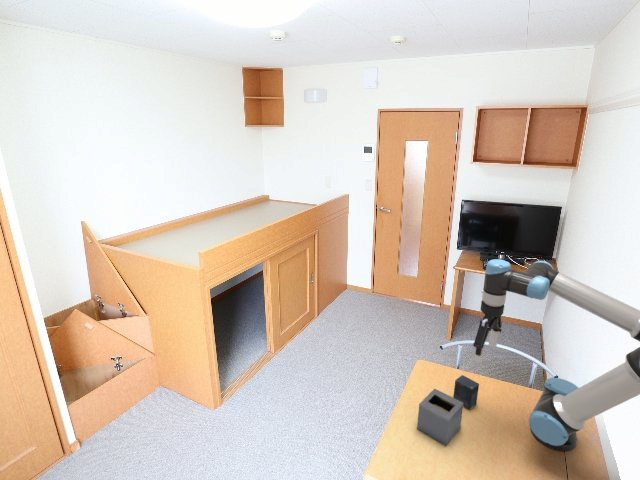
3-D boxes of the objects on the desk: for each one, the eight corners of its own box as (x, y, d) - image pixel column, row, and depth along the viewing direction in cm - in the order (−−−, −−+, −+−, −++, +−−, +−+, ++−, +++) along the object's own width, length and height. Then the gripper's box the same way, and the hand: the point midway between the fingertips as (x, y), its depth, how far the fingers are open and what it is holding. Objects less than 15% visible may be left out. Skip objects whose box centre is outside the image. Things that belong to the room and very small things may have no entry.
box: (476, 404, 163) (479, 383, 160) (469, 410, 159) (472, 389, 156) (459, 394, 169) (462, 374, 165) (452, 400, 165) (455, 379, 162)
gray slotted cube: (460, 428, 150) (463, 403, 147) (445, 446, 142) (449, 420, 139) (432, 412, 158) (434, 388, 155) (416, 429, 150) (419, 403, 146)
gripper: (495, 288, 148) (488, 336, 155) (467, 311, 131) (460, 364, 137) (516, 294, 143) (507, 343, 150) (490, 318, 126) (481, 373, 133)
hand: (485, 353), depth 144 cm, fingers open, 13 cm apart
